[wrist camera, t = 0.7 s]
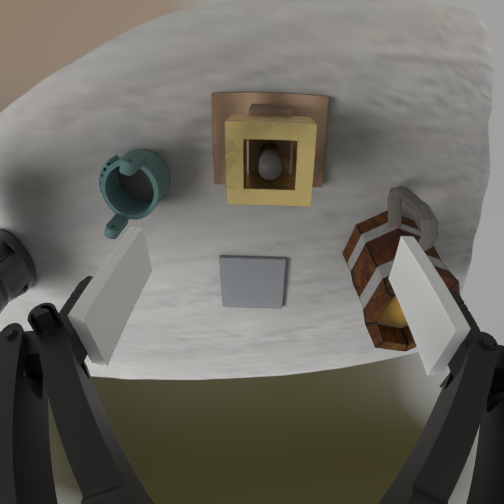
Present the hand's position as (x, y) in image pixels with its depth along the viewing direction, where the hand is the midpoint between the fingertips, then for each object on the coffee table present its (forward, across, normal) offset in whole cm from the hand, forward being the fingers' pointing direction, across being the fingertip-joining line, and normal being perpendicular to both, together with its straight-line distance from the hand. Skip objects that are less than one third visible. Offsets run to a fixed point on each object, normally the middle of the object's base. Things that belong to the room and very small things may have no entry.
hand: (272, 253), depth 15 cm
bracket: (+26, -18, -5) cm, 33 cm away
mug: (+27, +18, -13) cm, 35 cm away
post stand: (+26, 0, 0) cm, 26 cm away
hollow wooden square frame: (+19, 0, 0) cm, 19 cm away
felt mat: (+26, -2, -23) cm, 35 cm away
